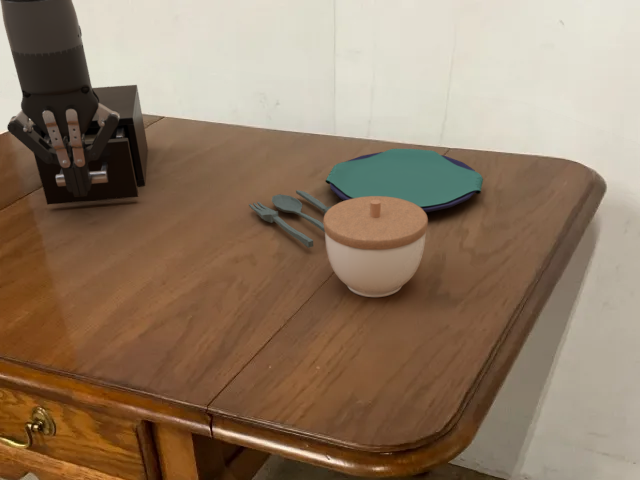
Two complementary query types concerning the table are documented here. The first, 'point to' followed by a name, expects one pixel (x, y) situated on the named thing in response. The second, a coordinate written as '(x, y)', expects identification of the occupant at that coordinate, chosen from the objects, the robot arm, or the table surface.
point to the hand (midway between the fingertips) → (81, 193)
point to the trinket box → (375, 243)
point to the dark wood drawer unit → (124, 122)
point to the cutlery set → (386, 184)
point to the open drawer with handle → (95, 171)
